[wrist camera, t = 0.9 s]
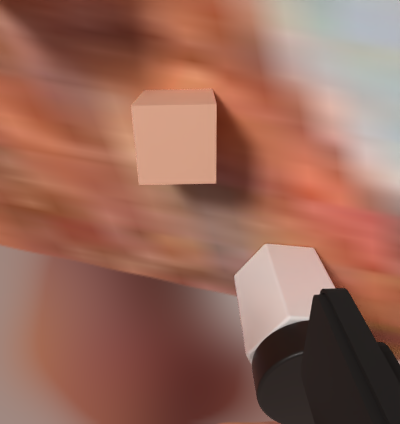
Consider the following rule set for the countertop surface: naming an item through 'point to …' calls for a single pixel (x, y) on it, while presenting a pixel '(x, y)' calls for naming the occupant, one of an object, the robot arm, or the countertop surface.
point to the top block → (175, 136)
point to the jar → (279, 324)
